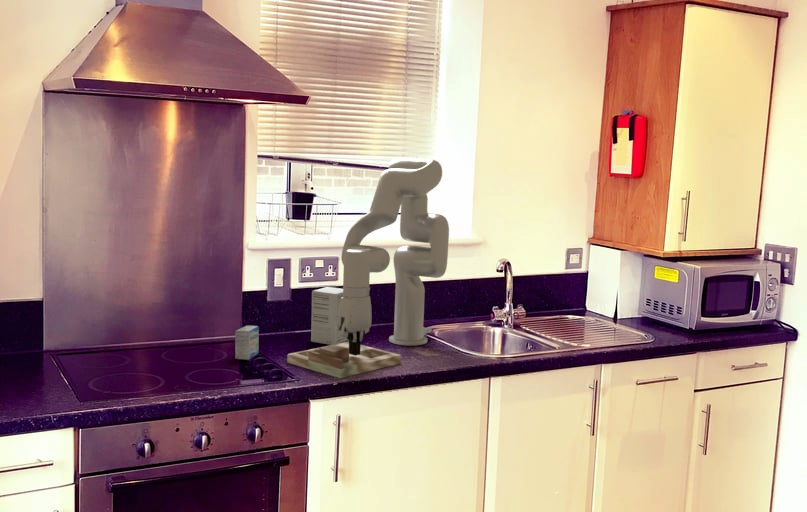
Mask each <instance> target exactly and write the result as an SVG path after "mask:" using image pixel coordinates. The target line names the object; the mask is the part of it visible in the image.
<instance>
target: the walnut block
mask: <svg viewBox="0 0 807 512" xmlns="http://www.w3.org/2000/svg"><path fill="white" fill-rule="evenodd" d="M321 347H322V348H320V347H318V348H319V353H320V354H324V355H327V356H331V357H334V358H338V359H342V360H343V364H344V363H348V362H349V348H345V347H341V346H337V345H331V346H330V345H326V347H325V346H321Z"/></svg>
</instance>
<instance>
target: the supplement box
mask: <svg viewBox="0 0 807 512" xmlns="http://www.w3.org/2000/svg"><path fill="white" fill-rule="evenodd" d="M341 297H343V288H339V287H332V286H326V287H322V288H319V289H314V290H312V291H311V319H310V320H311V321H310V322H311V324H310V326H311V328H310V334H311V335H310V341H311V342H313V343H318V344H325V345H328V346H330V345H334V344H339V343H344V342H348V340H347V338H346V337H342V336H340V334H341V331H340V330H338V329H337V319H338V309H339V304H340V299H341Z"/></svg>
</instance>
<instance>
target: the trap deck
mask: <svg viewBox="0 0 807 512" xmlns="http://www.w3.org/2000/svg"><path fill="white" fill-rule="evenodd" d="M334 345H337V346H341V347H345V348H349V341H345V342H342V343H339V344H334ZM326 346H327V345H326ZM326 346H324V347H326ZM329 346H331V345H329ZM322 347H323V346H321V347H316V348H311V349H308V350H307V349H306V350H301V351H296V352H291V353H288V354H287V358H286V359H287V360H286V361H287V363H288V364H290V365H294V366H298V367H301V368H304V369H308V370H310V371H311V370H312V371H314V372H318V373H322V374H324V375H328V376H332V377H335V378H338V379H342V378H346V377H351V376H355V375H358V374H364V373H366V372H367V373H368V372H371V371H375V370H378V369H379V370H380V369H382V368H387V367H391V366H395V365H399V364H401V362H402V361H401V360H402V354H399V353H395V352H390V351H387V350H383V349H379V348H375V347H373V346H372V347H370V346H367V345H364V344H361V346H360V355H356V356H355V355H351V354H349V362H348V363H344V364H343V360H342V359H338V358H334V357H331V356H327V355H324V354H320V353H319V348H322Z"/></svg>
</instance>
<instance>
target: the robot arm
mask: <svg viewBox="0 0 807 512" xmlns="http://www.w3.org/2000/svg"><path fill="white" fill-rule="evenodd" d="M442 167H443V166H442V164H440V163H439V161H437V160H436V159H426V158H412V157H411V158H410V157H407V158H406V157H401V158H399V157H398V158H396V159H391V161H390V163H389V165H388V169H385V170H383V172H382V173H381V175H380V177H379V179H378V183H377V186H376V189H375V193H374V196H373V200H372V201H371V205H370V209H369V211H368V212H366V214H365V215H363V216H362V217H360V218H359V219H358V220H357V221H356V222H355V223H354V224H353V225H352V227H351V228H350V229H349V231H348V233H347V235H346V237H345V240H344V243H343V246H342V252H341V263H342V265H343V275H342V277H343V282H342V284H343V285H342V289H343V297H341V299H340V304H339V309H338V319H337V329H338V330H340V331H341V334H340V336H342V337H346V338H347V342H349V354H351V355H355V356H356V355H360V346H361V345H362V343H361V342H362V341H363V337H364V336H365V335H366V334H367V333H369V332H370V328H371V327H372V326H371V325H372V321H373V320H372V319H373V318H372V317H373V316H372V304H371V303H372V302H371V296H370V290H371V286H370V279H371V278H370V275H371V274H372V273H382V272H384V271H385V270H387V268H388V267H389V265H390V261H391V256H390V254H389V251H387V250H386V249H385V248H383V247H381V246H372V245H366V244H365V245H362V244H361V242H362V241H363V240H364V238H366V236H368V235H369V234H371V233H373V232H375V231H377V230H380V229H382V228H386V227H387V226H390V225H393V224H394V223H395V222H396V221H397V219H398V215H399V212H400V219H399V220H400V221H399V223H400V224H399V226H400V227H399V232H400V237H401V238H402V239H403V240H405V241H408V242H415V243H425V244H429V245H430V246H429V247H428V246H419V245H403V246H399V247H397V249H396V250H395V252H394V253H393V268H394V274H395V275H394V276H395V294H394V296H395V297H394V317H393V318H394V319H393V320H394V322H393V328H394V329H393V335H390V336H389V338H388V341H389V342H390V343H392V344H394V345H398V346H423V345H425V344H427V343H428V338H427V337H426V336H425V335H426V334H429V333H432V327H431V326H428V327H424V315H425V293H426V291H425V285H424V282H423V281H422V279H421V277H425V278H434V279H438V278H442V277H443V276H444V275H445V273H446V272H447V268H448V257H449V239H450V227H449V221H448V219H447V218H446V217H445V216H444V215H443V214H439V213H429V212H428V202H429V201H428V200H429V199H428V193H430V192H431V191H432V190H434V189H435V188H436V187H437V186H438V185H439V184H440V182H441V180H442V178H443V168H442Z"/></svg>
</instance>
